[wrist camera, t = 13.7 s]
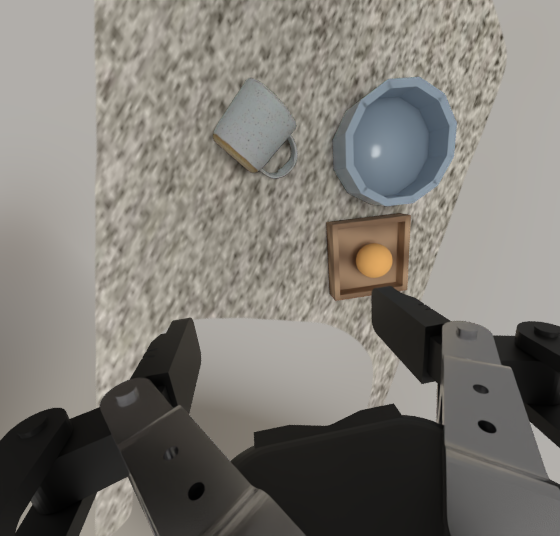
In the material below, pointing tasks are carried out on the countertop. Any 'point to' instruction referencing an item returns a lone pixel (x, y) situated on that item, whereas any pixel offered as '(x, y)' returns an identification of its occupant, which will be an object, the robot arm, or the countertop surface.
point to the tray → (355, 235)
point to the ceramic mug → (256, 128)
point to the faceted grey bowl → (395, 142)
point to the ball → (374, 260)
